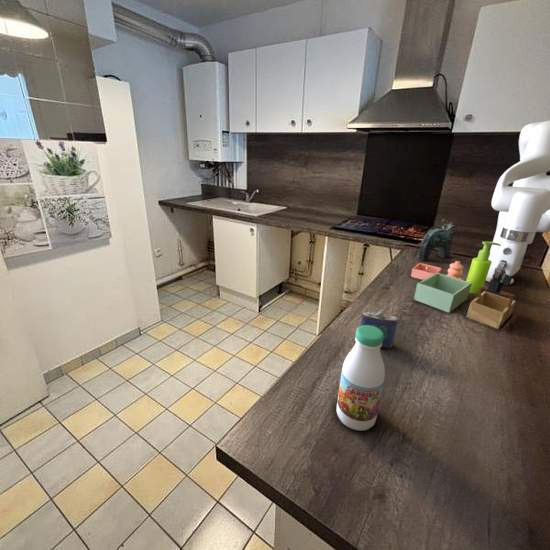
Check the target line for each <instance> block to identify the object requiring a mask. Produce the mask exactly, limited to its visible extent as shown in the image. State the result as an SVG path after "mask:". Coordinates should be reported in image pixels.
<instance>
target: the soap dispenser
mask: <svg viewBox="0 0 550 550" xmlns="http://www.w3.org/2000/svg"><path fill="white" fill-rule="evenodd" d="M481 244H482V245H483V248H481V249H479V251H478V255H477V257H473V258H472V259H471V264H470V267H469V269H468V272H467V276H466V280H465V281H467V282H471V283H472V285H471V288H470V291H469V294H473V295H478V294H479V291H480V288H481V286H483V285H484V286H485V283H486V282H487V281H486V278H487V275H488V272H489V269H490V266H491V263H492V261H490V260H488V259H489V255H490V247H491V246H492V245H498V246H500V244H498V243H495V242H493V241H482V243H481Z"/></svg>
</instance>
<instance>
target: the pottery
mask: <svg viewBox="0 0 550 550" xmlns="http://www.w3.org/2000/svg"><path fill="white" fill-rule="evenodd" d="M463 270H464V265H463V264H461V261H459V260H455V262H452V263H450V264H449V268H448V269H447V274H446V275H447V276H450V277H454V278H457V279H460V280H463V279H462V275H463V273H464V272H463ZM436 273H440V274H442V267H439V266H435V265H430V264H427V263H422V262H419V263H417V264H416V265H415V266H414V267H413V268H412V269H411V274H410V277H412V278H414V279H419V280H421V281H422V280H424V279H426V278H428V277H430V276H432V275H434V274H436Z"/></svg>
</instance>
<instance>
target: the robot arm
mask: <svg viewBox="0 0 550 550" xmlns="http://www.w3.org/2000/svg"><path fill="white" fill-rule="evenodd" d="M518 151H519V161H518V162H517V163H515V164H513V165H511V166H510V167H509V168H507V169H506V170H505V171H504V172H503V173H502V175H501V176H500V177H499V178H498V181H497V183H496V186H495V188H494V192H493V195H492V198H491V202H490V203H491V207H492V209H493V210H494V211H496V212H498V217H497V224H496V228H495V229H496V230H495V233H494V236H493V239H492V242H495V243H498V244H500V246H498V245H490V248H489V251H490V255H489V259H488V260H490V261H492V263H491V266H490V269H489V272H488V275H487V278H486V281H485V282H489V283H488V286H487V287H488V289H487V290H486V292H489V293H492V294H495V295H499V296H500V292H501V291H502V289H503V286H510V285H512V284H514V281H515V280H514V278H513V277H514V275H516V274H517V273H518V272H519V270H520V269H521V266H522V264H523V261H524V257H525V255H526V251H527V248H528V245H530V244H532V243H533V241H534V238H535V236H536V234H537V233H548V232H550V175H549V174H548V175H547V173H548V172H550V120H545V121H537V122H532V123H528V124H526V125H524V126H523V127H522V129H521V131H520V133H519V138H518ZM510 184H512V186H509V185H510Z"/></svg>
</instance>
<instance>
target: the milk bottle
mask: <svg viewBox="0 0 550 550" xmlns="http://www.w3.org/2000/svg"><path fill="white" fill-rule="evenodd" d="M355 331H356V332H355V337H354V341H355V343H354V346H353V347H352V349H351V350H350V351H349V352H348V354H347V355H346V357H345V358H344V360H343V363H342V369H341V374H340V381H339V387H338V395H337V403H336V414H337V417H338V419H339V420H340V422H341V423H342V424H343V425H345V426H346V427H347V428H349V429H352V430H354V431H359V432H360V431H361V432H362V431H363V432H364V431H367V430H369V429H370V428H371V429H372V427H373V426H374V425H375V424H376V421H377V418H378V412H379V408H380V404H381V398H382V394H383V387H384V384H385V376H386V369H385V368H386V367H385V363H384V360H383V357H382V354H381V348H380V347H381V346H382V342H383V337H384V335H383V332H382V331H381V330H380V329H378V328H377V327H374V326H370V325H363V326H358V327H357V329H356V330H355Z"/></svg>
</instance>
